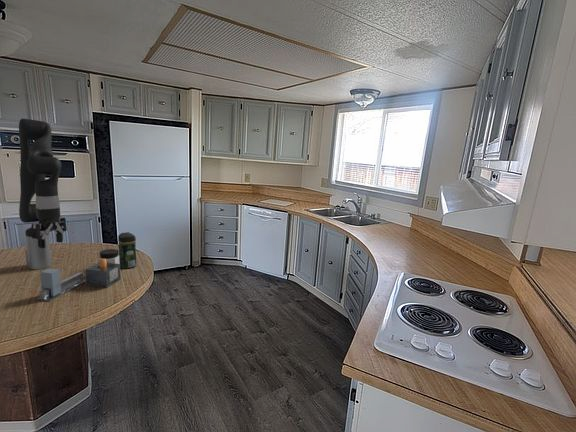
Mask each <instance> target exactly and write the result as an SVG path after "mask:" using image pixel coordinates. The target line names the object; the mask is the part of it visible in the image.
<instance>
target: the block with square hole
mask: <svg viewBox="0 0 576 432" xmlns="http://www.w3.org/2000/svg"><path fill="white" fill-rule="evenodd" d="M121 278H122V277H121V266H120V264H115V263H107V267H106V268H100V263H99V262H98V263H96V264H93V265H91V266H89V267H87V268H86V269H85V280H86V282H85V284H86V287H96V288H109V287H111V286H112V285H114V284H116V283H117V282H118V281H120V280H121Z"/></svg>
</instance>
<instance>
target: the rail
mask: <svg viewBox="0 0 576 432" xmlns="http://www.w3.org/2000/svg"><path fill="white" fill-rule="evenodd" d="M84 283H85V284H86V279H84V273H83V272H80V271H78V272H77V273H75V274H73V275H71V276H69V277H67V278H64V279H62V280H61V293H59V294H57V295H55V296H51V289H48V288H46V289H44V290H42V289H41V290H40V291H39V296H38V297H36V298H35V300H36V301H43V302H51V301H53V300H55V299H57V298H58V297H60V296H62V295H65V294H67V293H68V292H70V291H73V289H75V288H78V287H79V286H81V285H82V284H84Z"/></svg>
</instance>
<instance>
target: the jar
mask: <svg viewBox="0 0 576 432" xmlns="http://www.w3.org/2000/svg"><path fill="white" fill-rule="evenodd" d="M100 259H106V261H107V263H115V264H120V262H119V249H114V248H109V249H108V248H107V249H103V250H100V251H99V257H98V263H100V261H99V260H100Z"/></svg>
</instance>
